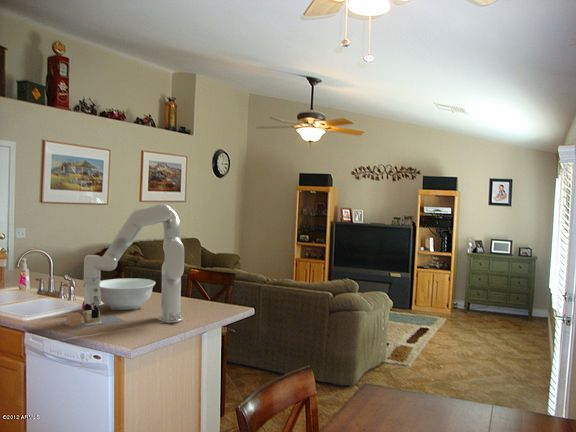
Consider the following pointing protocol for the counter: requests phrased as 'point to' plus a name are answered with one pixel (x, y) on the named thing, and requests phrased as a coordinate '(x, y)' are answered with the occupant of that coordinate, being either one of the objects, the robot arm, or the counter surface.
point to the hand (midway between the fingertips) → (91, 315)
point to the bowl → (126, 292)
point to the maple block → (90, 317)
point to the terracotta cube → (74, 319)
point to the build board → (102, 321)
